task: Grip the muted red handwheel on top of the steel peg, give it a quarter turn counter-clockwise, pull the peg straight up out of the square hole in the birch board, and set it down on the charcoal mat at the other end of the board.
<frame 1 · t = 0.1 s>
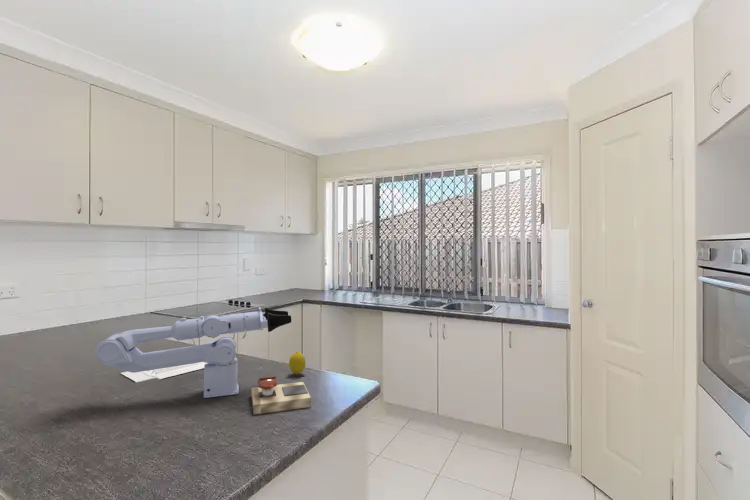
hand: (289, 316, 119), 22 cm above the counter, tool horizontal, fingers open, 7 cm apart
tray: (171, 370, 134), on the counter
peg: (267, 403, 104), resting in board
board: (280, 401, 105), on the counter
lemon: (297, 375, 128), on the counter
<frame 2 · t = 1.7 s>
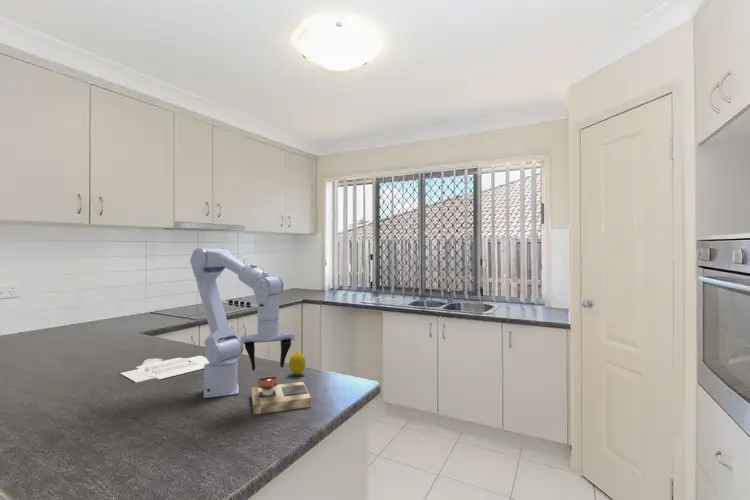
hand: (267, 367, 104), 10 cm above the counter, tool pointing down, fingers open, 7 cm apart
nothing on the counter moved.
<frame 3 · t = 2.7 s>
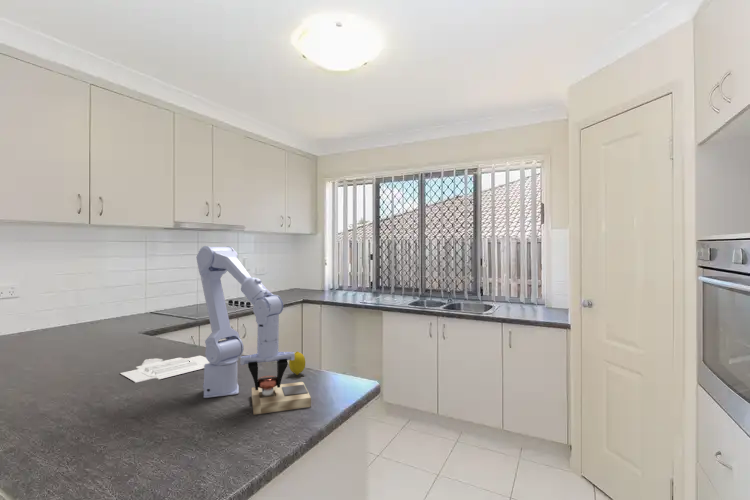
hand: (267, 387, 104), 4 cm above the counter, tool pointing down, fingers closed on peg, 5 cm apart
peg: (267, 403, 104), resting in board, touching gripper
everything else where it was.
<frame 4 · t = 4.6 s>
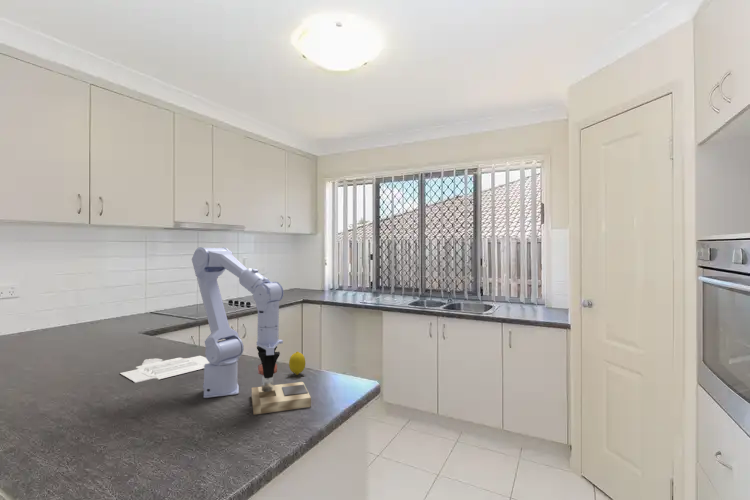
hand: (267, 374, 104), 8 cm above the counter, tool pointing down, fingers closed on peg, 5 cm apart
peg: (267, 389, 104), point 4 cm above the counter, touching gripper
everything else where it was.
when the fingers open (8 cm above the counter, at t = 6.6 s): peg drops 1 cm, resting on board.
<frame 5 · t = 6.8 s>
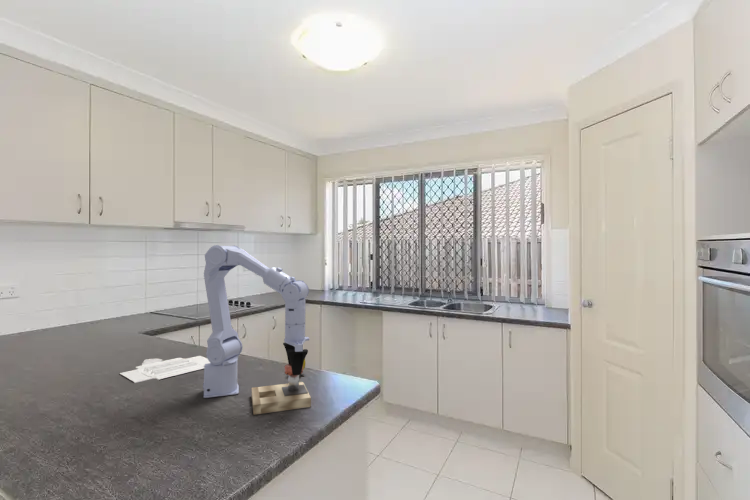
hand: (294, 370, 107), 8 cm above the counter, tool pointing down, fingers open, 7 cm apart
peg: (293, 389, 107), point 3 cm above the counter, touching board
everything else where it was.
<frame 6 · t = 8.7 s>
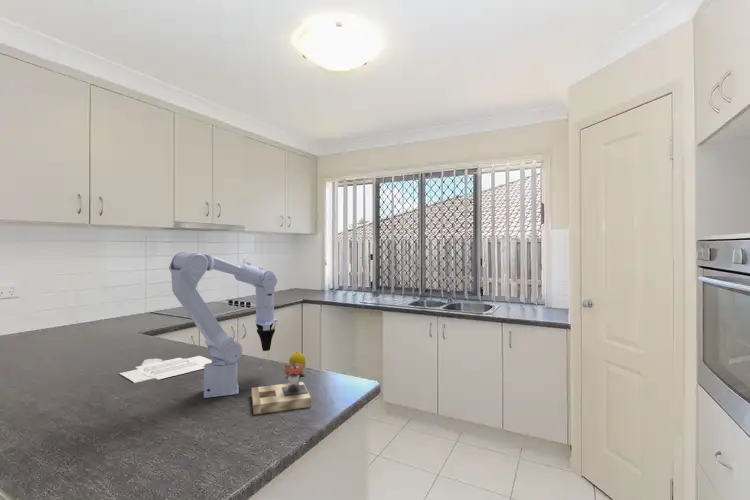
hand: (265, 347, 123), 10 cm above the counter, tool pointing down, fingers open, 7 cm apart
nothing on the counter moved.
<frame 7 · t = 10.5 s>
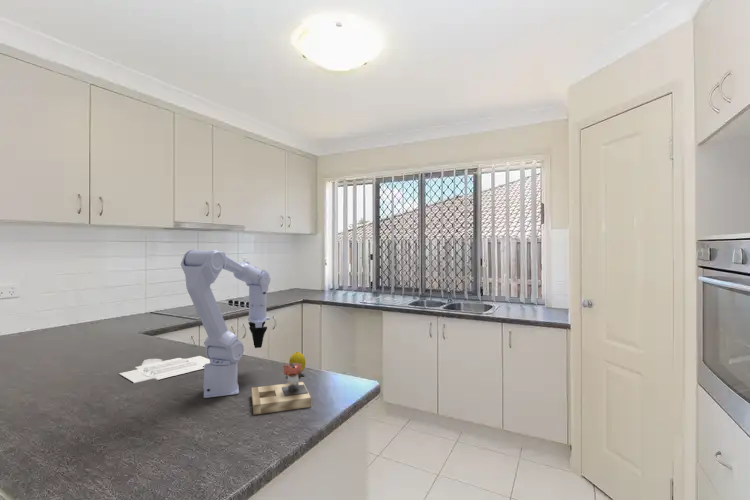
hand: (257, 344, 127), 10 cm above the counter, tool pointing down, fingers open, 7 cm apart
nothing on the counter moved.
at the end: peg 0.4 cm from the target spot on the board, point 2.9 cm above the board's base; the gripper is holding nothing; peg moved 7.7 cm from its start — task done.
